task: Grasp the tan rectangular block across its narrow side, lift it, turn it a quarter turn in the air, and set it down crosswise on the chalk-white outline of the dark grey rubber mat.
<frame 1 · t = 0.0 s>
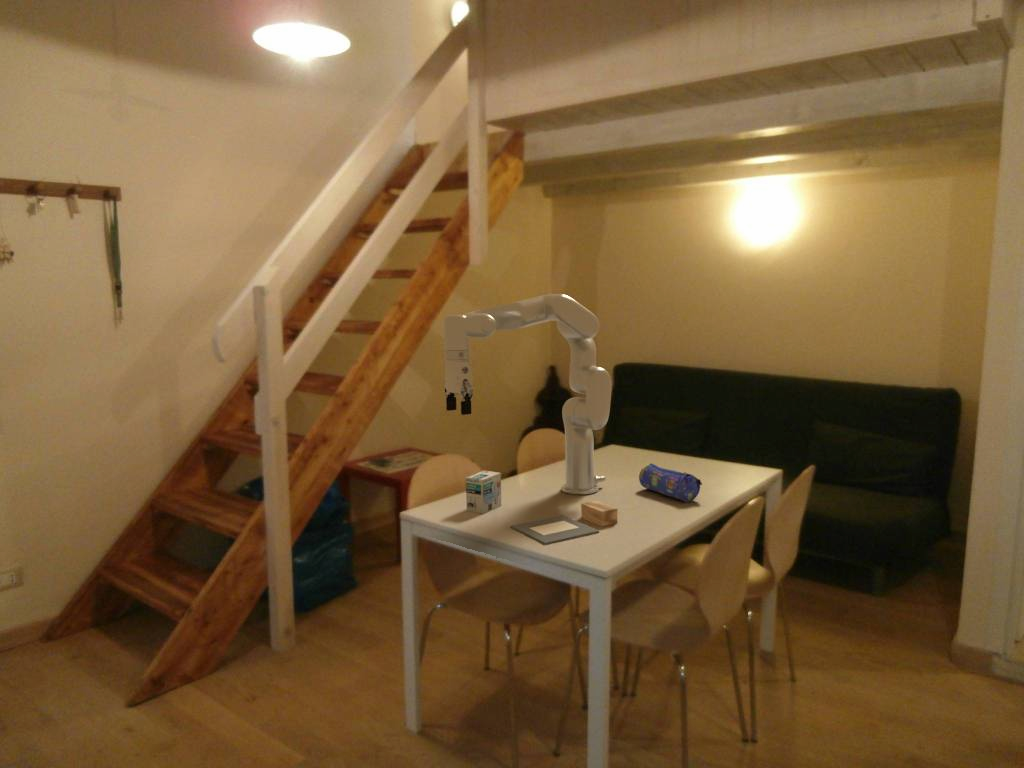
hand: (458, 412, 225), 31 cm above the table, tool pointing down, fingers open, 9 cm apart
pencil case: (669, 496, 243), on the table
light bulb box: (484, 508, 233), on the table
mat: (554, 529, 210), on the table
tan rectangular block: (599, 520, 218), on the table
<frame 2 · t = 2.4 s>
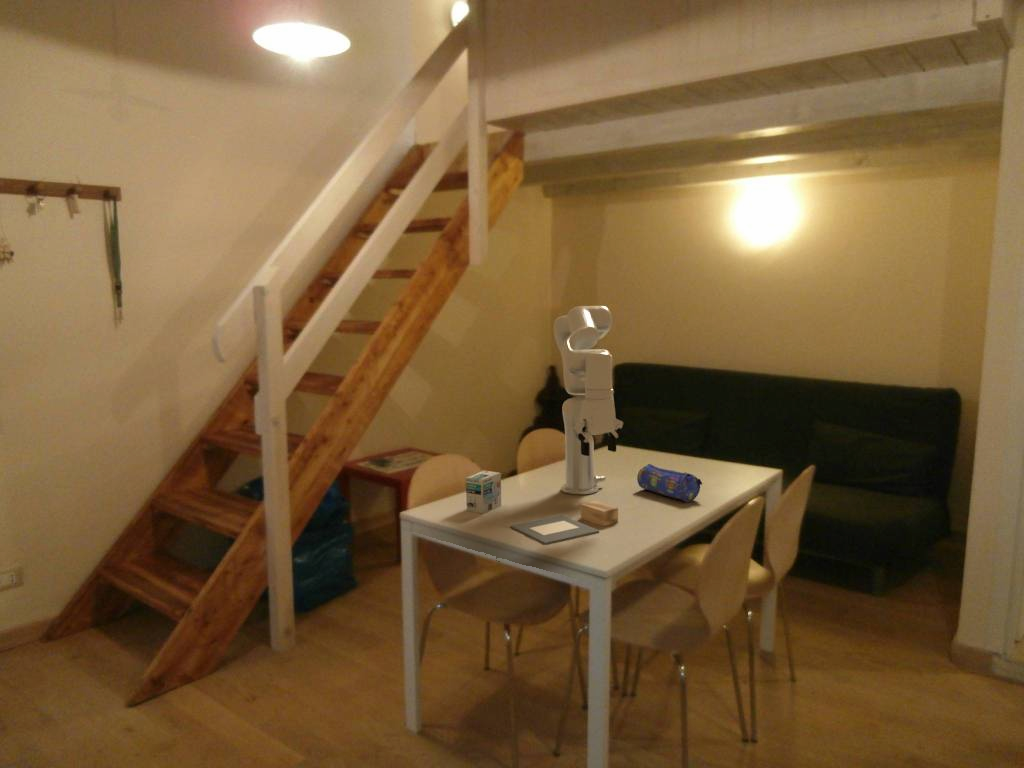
hand: (598, 453, 216), 20 cm above the table, tool pointing down, fingers open, 9 cm apart
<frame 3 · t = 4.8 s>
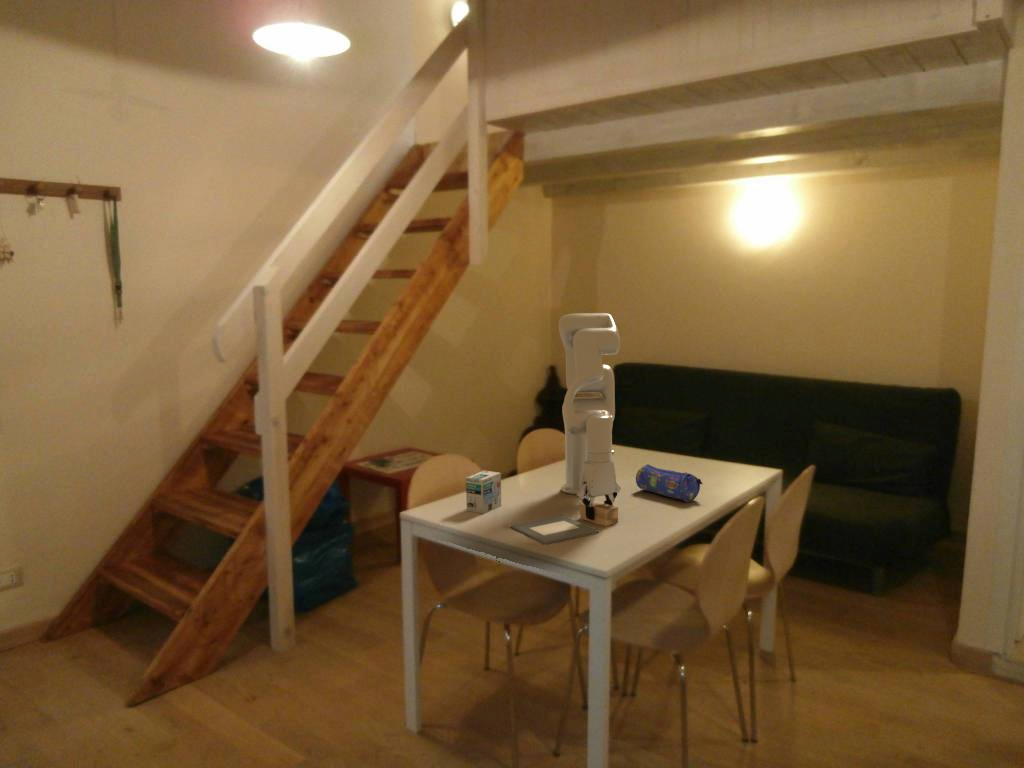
hand: (599, 516, 218), 1 cm above the table, tool pointing down, fingers closed on tan rectangular block, 6 cm apart
tan rectangular block: (599, 520, 218), on the table, touching gripper
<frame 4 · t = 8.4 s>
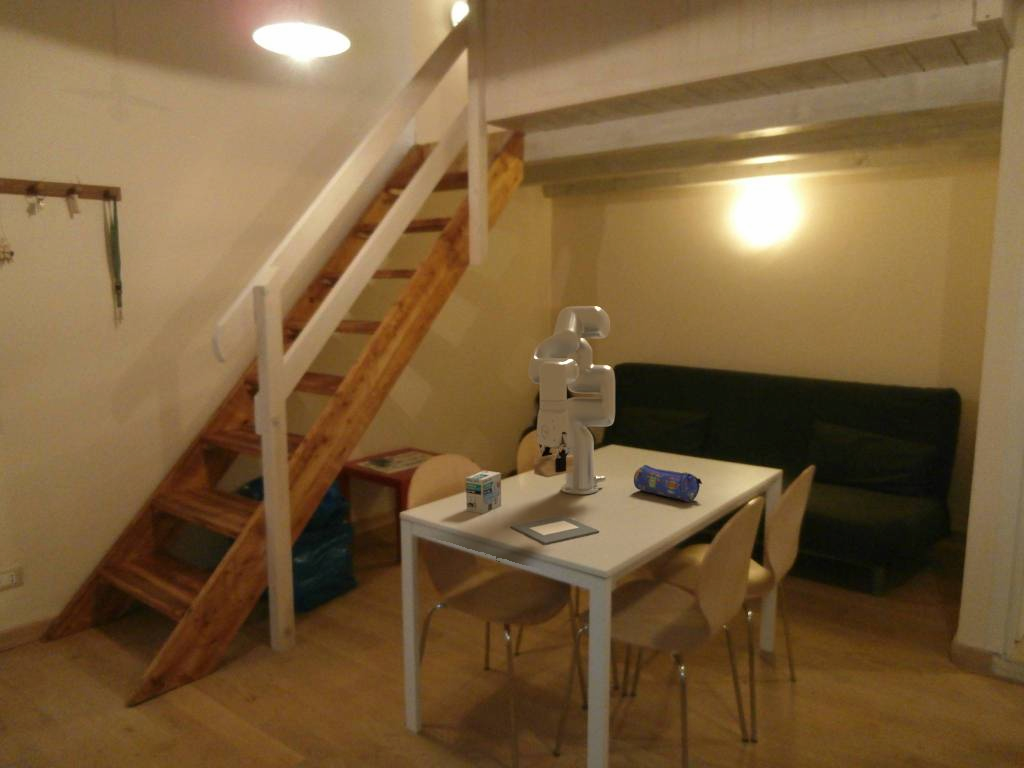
hand: (554, 468, 208), 18 cm above the table, tool pointing down, fingers closed on tan rectangular block, 6 cm apart
tan rectangular block: (554, 472, 208), point 16 cm above the table, touching gripper
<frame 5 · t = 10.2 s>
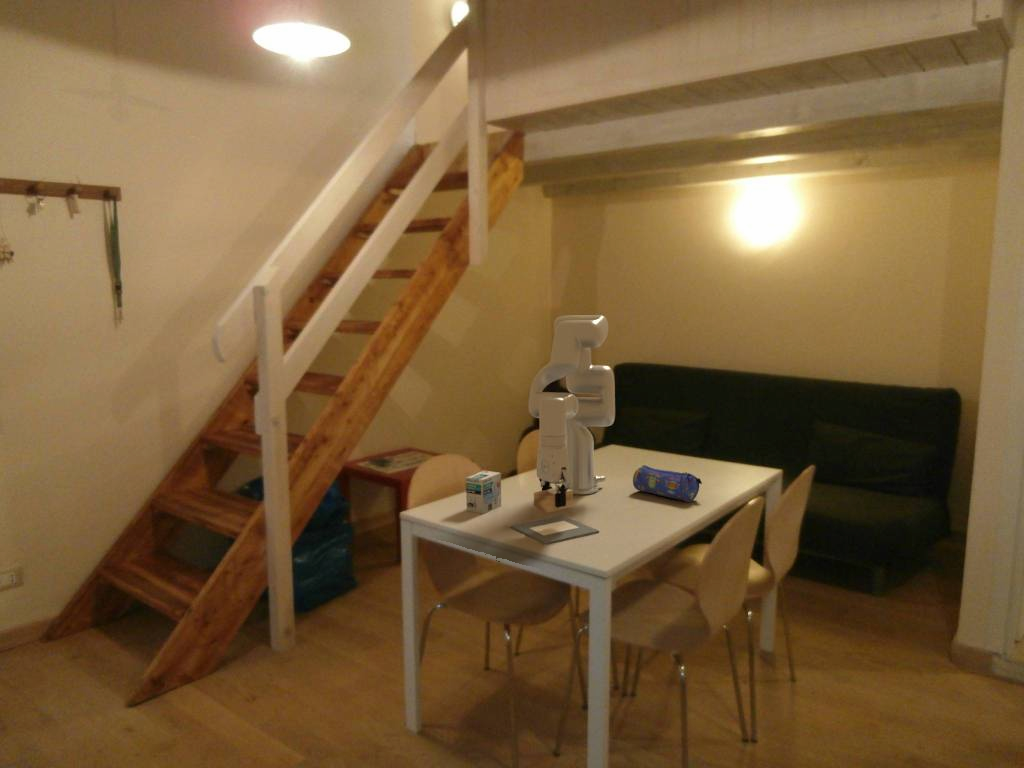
hand: (553, 503, 209), 8 cm above the table, tool pointing down, fingers closed on tan rectangular block, 6 cm apart
tan rectangular block: (553, 507, 209), point 7 cm above the table, touching gripper
when the fingers open (2 cm above the table, at t = 12.1 s): tan rectangular block stays where it is, resting on mat.
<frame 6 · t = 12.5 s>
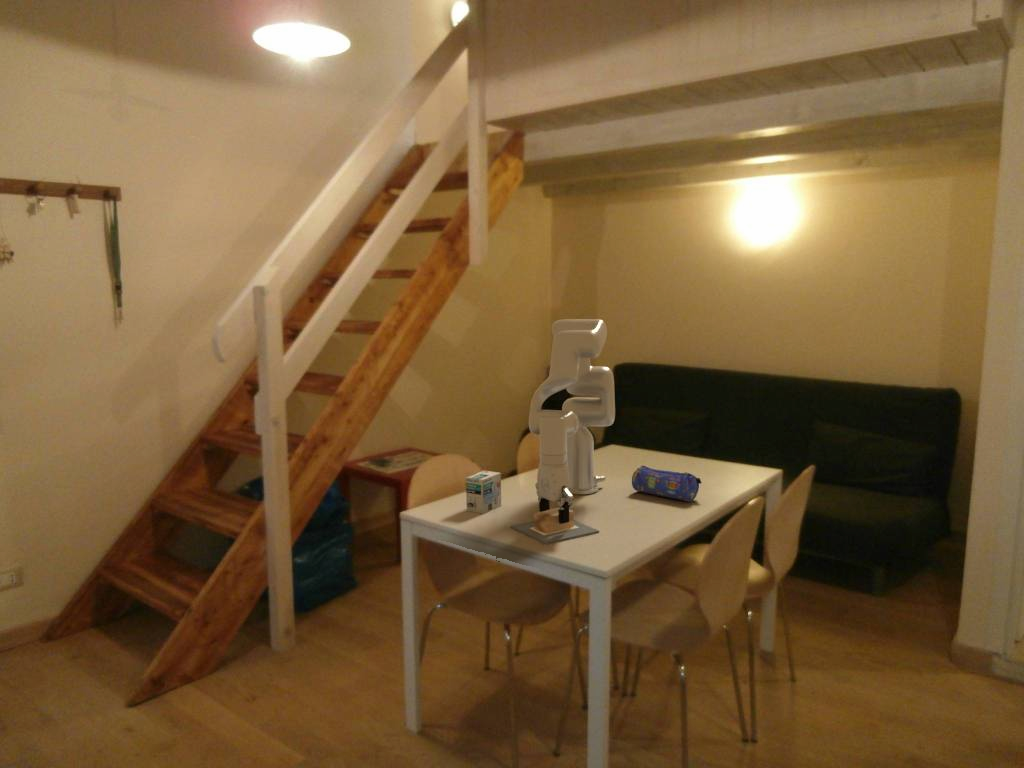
hand: (554, 518, 210), 3 cm above the table, tool pointing down, fingers open, 9 cm apart
tan rectangular block: (554, 527, 210), point 1 cm above the table, touching mat
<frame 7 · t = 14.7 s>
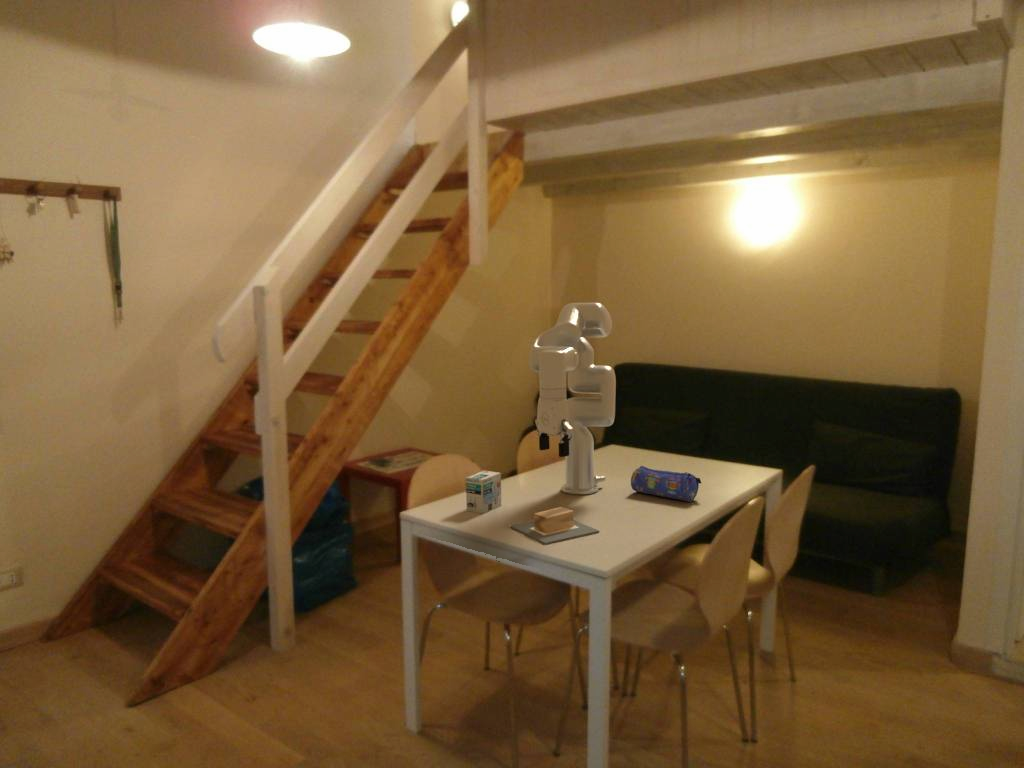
hand: (554, 452, 212), 21 cm above the table, tool pointing down, fingers open, 9 cm apart
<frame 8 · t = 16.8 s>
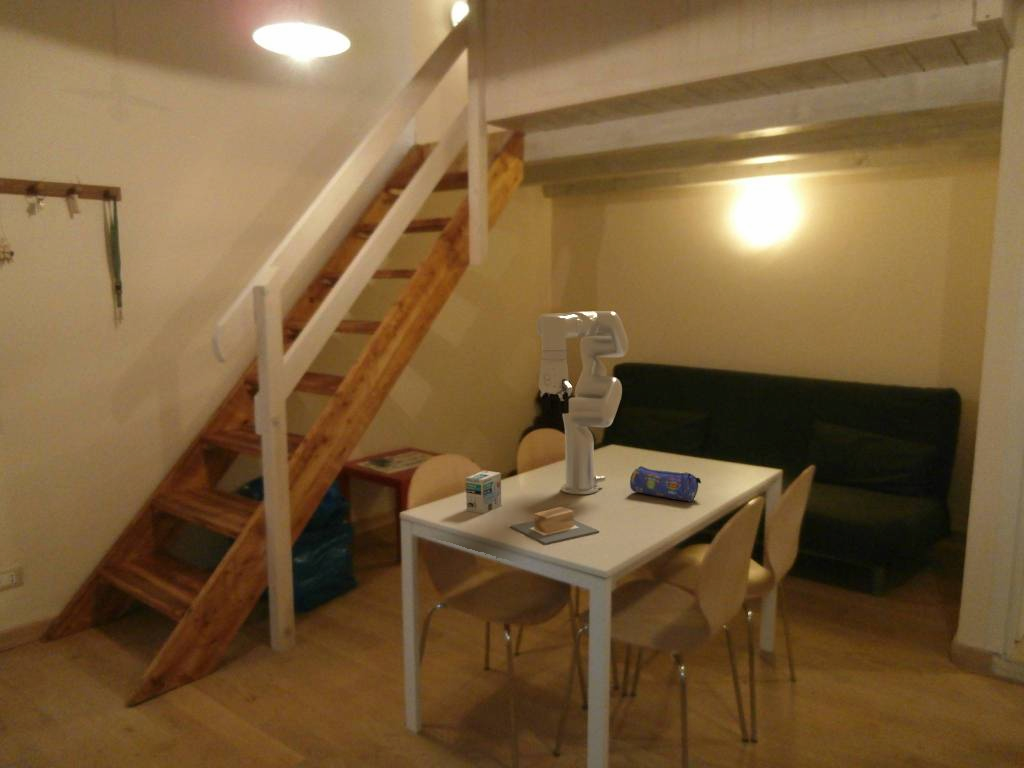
hand: (554, 411, 228), 30 cm above the table, tool pointing down, fingers open, 9 cm apart
at the end: tan rectangular block inside the target area on the mat (0.0 cm from its centre), point 0.6 cm above the mat's base; tan rectangular block tilted 0°; the gripper is holding nothing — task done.
